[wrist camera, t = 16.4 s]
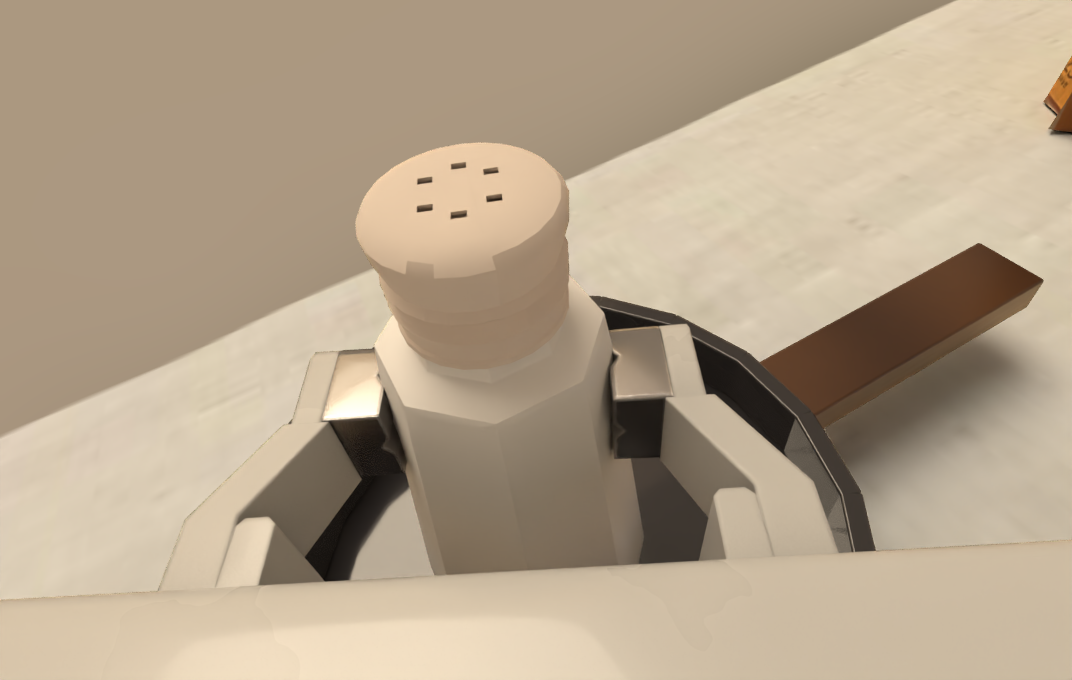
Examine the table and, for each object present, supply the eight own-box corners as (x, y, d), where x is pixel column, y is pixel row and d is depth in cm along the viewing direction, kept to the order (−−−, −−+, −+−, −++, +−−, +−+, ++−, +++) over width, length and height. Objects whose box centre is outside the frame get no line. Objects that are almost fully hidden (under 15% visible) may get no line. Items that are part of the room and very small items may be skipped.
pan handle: (964, 269, 21) (979, 241, 21) (1027, 307, 20) (1046, 279, 19) (733, 397, 19) (739, 371, 18) (787, 451, 18) (797, 426, 17)
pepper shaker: (433, 475, 18) (283, 114, 10) (622, 449, 18) (627, 66, 10) (431, 686, 14) (192, 383, 6) (669, 652, 14) (735, 306, 6)
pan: (620, 312, 24) (620, 234, 22) (977, 687, 15) (1059, 635, 12) (229, 501, 21) (168, 435, 18) (386, 1165, 11) (308, 1247, 8)
